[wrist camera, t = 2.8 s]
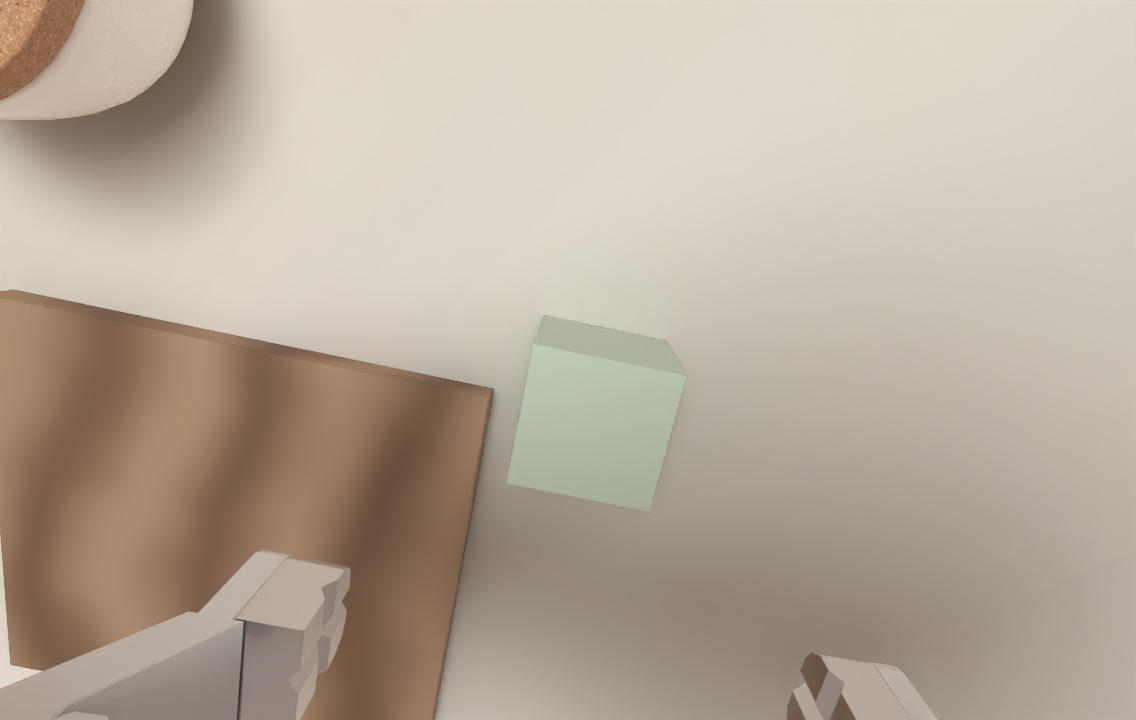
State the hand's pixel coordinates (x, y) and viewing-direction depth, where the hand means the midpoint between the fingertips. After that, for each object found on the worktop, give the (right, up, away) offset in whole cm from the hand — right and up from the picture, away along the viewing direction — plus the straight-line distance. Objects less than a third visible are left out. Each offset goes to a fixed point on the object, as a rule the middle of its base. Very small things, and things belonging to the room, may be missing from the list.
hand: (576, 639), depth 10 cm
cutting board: (-15, -3, +16) cm, 22 cm away
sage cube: (+1, +4, +14) cm, 14 cm away
